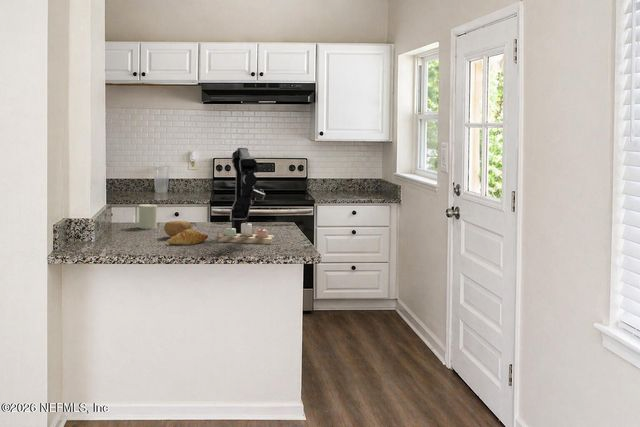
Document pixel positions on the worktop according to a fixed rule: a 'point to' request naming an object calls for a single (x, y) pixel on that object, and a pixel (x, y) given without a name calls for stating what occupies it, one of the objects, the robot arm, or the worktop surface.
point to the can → (148, 216)
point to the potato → (176, 227)
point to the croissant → (187, 237)
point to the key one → (230, 232)
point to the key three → (261, 233)
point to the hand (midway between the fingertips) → (246, 217)
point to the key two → (246, 229)
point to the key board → (245, 239)
